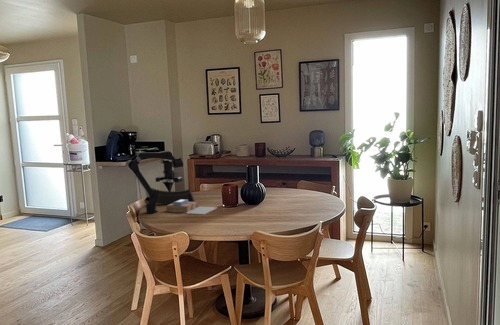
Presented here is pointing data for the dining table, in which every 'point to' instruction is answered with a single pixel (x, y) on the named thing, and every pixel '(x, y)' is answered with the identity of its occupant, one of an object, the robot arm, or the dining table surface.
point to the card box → (181, 202)
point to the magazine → (174, 196)
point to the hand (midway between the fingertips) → (169, 191)
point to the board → (182, 207)
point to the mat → (201, 210)
